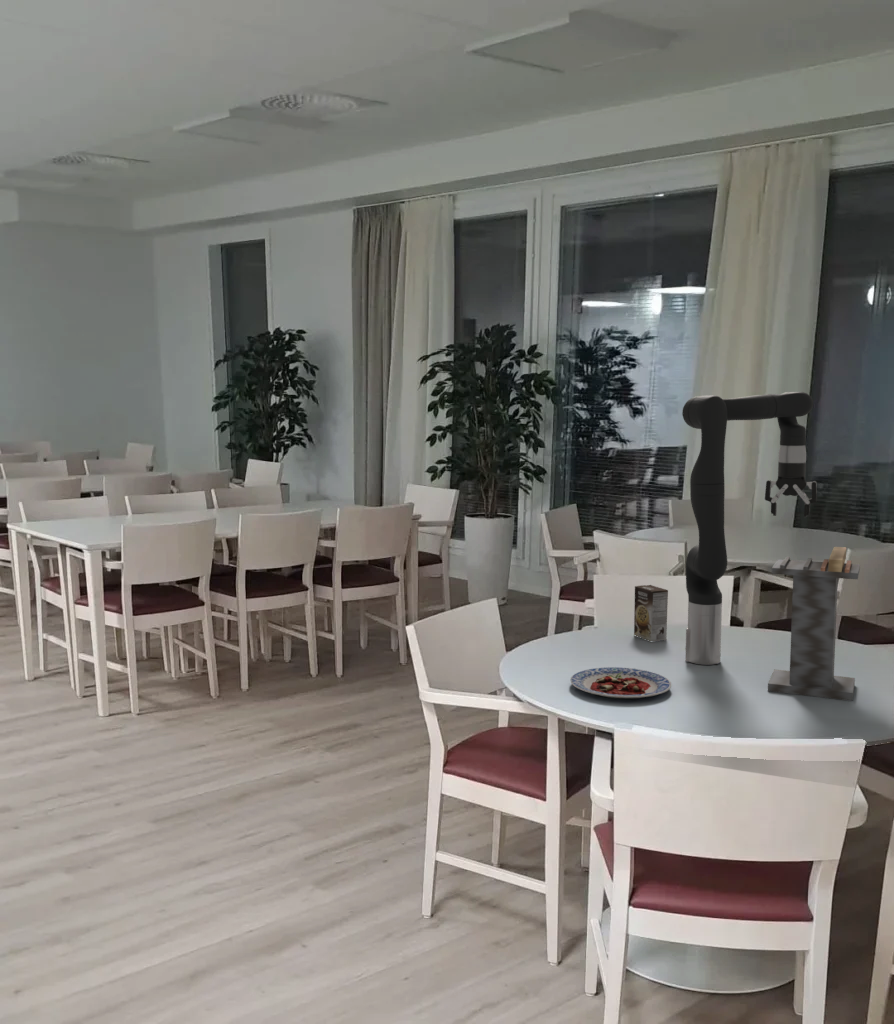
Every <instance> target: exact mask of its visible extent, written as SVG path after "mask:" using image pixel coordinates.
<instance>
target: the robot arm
mask: <svg viewBox="0 0 894 1024" xmlns="http://www.w3.org/2000/svg"><path fill="white" fill-rule="evenodd" d="M813 407H814V400H813V398H812V396H811V395H810V394H808V393H807V392H804V391H785V392H782V393H781V394H776V393H775V394H774V393H768V394H755V395H748V396H747V395H746V396H741V397H739V396H738V397H731V398H722V397H720V396H718V395H696V396H694V397H691V398H690V399H688V400H687V401H686V402H685V403H684V406H683V407H682V413H681V415H682V419H683V420H684V423H686V425H687V426H689V427H690V428H693V429H697V430H700V431H701V436H700V437H701V444H700V450H699V452H698V453H699V454H698V456H697V458H696V461H695V463H694V465H693V468H692V470H691V472H690V479H689V485H690V486H689V488H690V490H689V491H690V502H691V503H690V504H691V508H692V512H693V515H694V517H695V521H696V524H697V528H698V544H696V545H695V546H693V547H692V548H691V549H690V550H689V551H688V553H687V556H686V559H685V588H686V592H687V597H688V606H687V612H688V613H687V627H686V628H685V658H684V659H685V662H689V663H692V664H696V665H703V666H705V665H707V666H710V665H711V666H712V665H717V664H719V663H721V657H722V656H721V652H722V651H721V650H722V649H721V648H722V646H721V645H722V616H723V615H722V614H723V594H722V592H721V589H720V588H719V585H718V580H719V579H721V578H722V577H723V576H724V574H725V573H726V571H727V567H728V554H727V547H726V546H727V545H726V537H725V535H726V534H725V491H726V490H725V446H726V445H725V444H726V435H727V425H728V421H757V420H758V421H760V420H761V421H762V420H769V419H777V423H778V427H779V430H780V434H779V435H780V436H779V450H778V459H777V461H778V464H777V479H776V480H771V479H767V480H766V483H765V491H764V492H765V493H764V500H765V501H768V502H769V503H770V512H771V515H772V516H777V513H778V512H777V506H778V505H777V504H778V502H777V501H778V500H779V498H781V496H782V495H783V496H785V497H787V496H791V497H797V496H799V497H800V498H801V499H802V501H803V503H804V507H803V509H804V510H803V518H807V517H808V516H809V515H810V513H811V504H814V503H816V502H817V501H818V490H817V489H818V487H817V486H818V484H817V483H818V482H817V481H815V480H814V481H807V480H806V469H807V468H806V467H807V466H806V464H807V462H806V461H807V449H806V443H807V442H806V440H807V430H806V427H805V426H804V425H802V424H800V423H798V419H797V418H798V417H799V418H800V417H805V416H806V415H808V414H809V413H810V412H811V411H812V409H813ZM775 486H776V487H777V489H778V492H776V493H775V495H774V496H773V497H771V491H772V489H773V488H774V487H775ZM806 487H808V489H809V490H811V498H809V497H808V496H807V494H806V493H805V491H804V489H806Z"/></svg>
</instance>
